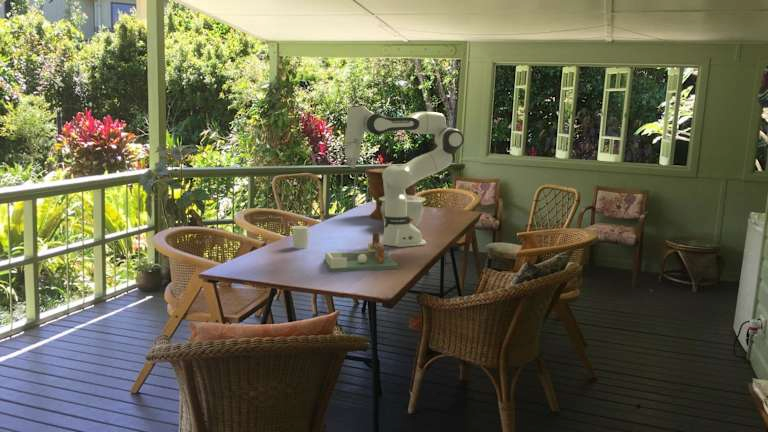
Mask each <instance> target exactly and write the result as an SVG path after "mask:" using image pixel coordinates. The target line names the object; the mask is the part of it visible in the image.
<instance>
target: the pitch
mask: <svg viewBox="0 0 768 432" xmlns="http://www.w3.org/2000/svg"><path fill="white" fill-rule="evenodd" d="M326 253H327V261H326V260H325V258H323V264H324V265H325V266H326V268H327V269H328V271H329V273H331V272H332V273H333V272H334V273H335V272H337V273H338V272H350V271H351V272H353V271H354V272H355V271H356V272H357V271H374V270H392V269H393V270H395V269H399V266H398V264H397V263H396V262H395V261H394V260H392V259H391V258H390V257H389V256H388V258H384V263H379V262H378V261H377V258H373V259H367V261H366V262H365V263H360V262H359V261H358V259H351V260H347V258H342V251H332V252H331V251H329V252H326Z"/></svg>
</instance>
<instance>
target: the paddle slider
mask: <svg viewBox="0 0 768 432" xmlns="http://www.w3.org/2000/svg"><path fill="white" fill-rule="evenodd" d="M367 245H368V246H367V247H368V250H367V251H370V252H377V261H378V262H379V263H384V251H385V248H384V244H382V243H381V242H380V232H378V231H377V232H374V231H373V232H372V243H368V244H367Z"/></svg>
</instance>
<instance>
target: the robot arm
mask: <svg viewBox="0 0 768 432" xmlns="http://www.w3.org/2000/svg"><path fill="white" fill-rule="evenodd" d="M391 131H392V132H393V131H407V132H409V133H411V134H417V135H429V134H430V135H432V140H433V143H434V145H435V146H436V147H435V149H434V150H431V151H428V152H426V153H424V154H421V155H418V156H416V157H414V158H412V159H411V160H409V161H408V162H406V163H404V164H402V165H400V166H398V165H396V164H395V165H394V164H393V165H390V166H387V167H386V168H385V169H384V171H383V173H382V178H383V185H384V194H385V216H384V220H383V226H384V227H383V228H384V229H383V234H382V240H381V242H380V243H382V244H383V245H386V246H391V247H398V248H404V247H412V246H425V245H427V242H426V240H425V239H423V238H422V237H423V236H422V233H421V231H420V229H419V228H417V226H416V227H415V226H413V225H412V224H411V223H410V222H412V221H413V220H414V219H413V218H412V217H409V216H407V198H406V193H405V189H406V188H408V187H409V186H411V185H413V184H414V183H415V184H416V183H418V182H419V181H420V180H423V179H425V178H427V177H430V176H432V175H435V174H437V173H439V172H442V171H443V170H445V169H447V168H448V167H449V166H451V165H452V163H453V159H454V158H453V155H454V154H456V153H457V151H458V150H459V149H460V148H461V147H462V145H463V144H464V142H465V141H464V139H465V138H464V135H463V133H462V131H460V130H459V129H457V128H453V127H449V126H448V125H447V119H446V117H445V114H443V113H440V112H437V111H436V112H435V111H415V112H412V113H410V114H409V115H406V116H398V117H397V116H396V117H395V116H393V117H390V116H387V115H385V114H383V113H374V112H373V111H371V110H369V109H368V108H367V107H366V106H365V105H362V104H360V105H352V106H350V107H349V109H348V112H347V116H346V129H345V132H344V133H345V135H344V140H343V141H344V156H345V157H347V158H346V160H347V167H350V168H351V169H355V168H356V164H357V161H358V160H360V159H361V153H362V152H361V150H362V146H361V145H362V144H363V143H364V134H365V132H366V133H368V134H371V135H375V136H381V135H384V134H385V133H387V132H391Z"/></svg>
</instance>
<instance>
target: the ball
mask: <svg viewBox="0 0 768 432" xmlns="http://www.w3.org/2000/svg"><path fill="white" fill-rule="evenodd" d="M358 261H359V262H360V263H365V262H366V261H367V256H366V255H364V254H360V255H359V256H358Z"/></svg>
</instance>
